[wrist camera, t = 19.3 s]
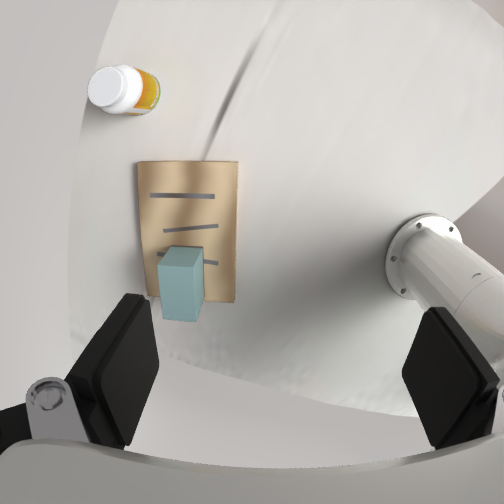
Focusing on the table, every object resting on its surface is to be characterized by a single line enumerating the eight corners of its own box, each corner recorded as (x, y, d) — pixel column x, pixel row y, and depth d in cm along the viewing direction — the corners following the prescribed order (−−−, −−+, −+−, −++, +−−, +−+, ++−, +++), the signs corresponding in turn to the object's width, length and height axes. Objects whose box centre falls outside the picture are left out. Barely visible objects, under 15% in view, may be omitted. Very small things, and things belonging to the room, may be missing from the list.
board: (238, 161, 35) (237, 162, 34) (234, 298, 42) (233, 302, 41) (141, 161, 35) (137, 162, 34) (150, 291, 42) (147, 295, 41)
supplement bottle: (152, 65, 31) (118, 49, 22) (169, 101, 32) (138, 94, 23) (116, 87, 32) (74, 80, 23) (131, 123, 33) (92, 124, 24)
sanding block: (172, 244, 38) (157, 265, 32) (203, 246, 38) (193, 267, 32) (175, 293, 41) (163, 318, 35) (204, 296, 41) (196, 322, 35)
